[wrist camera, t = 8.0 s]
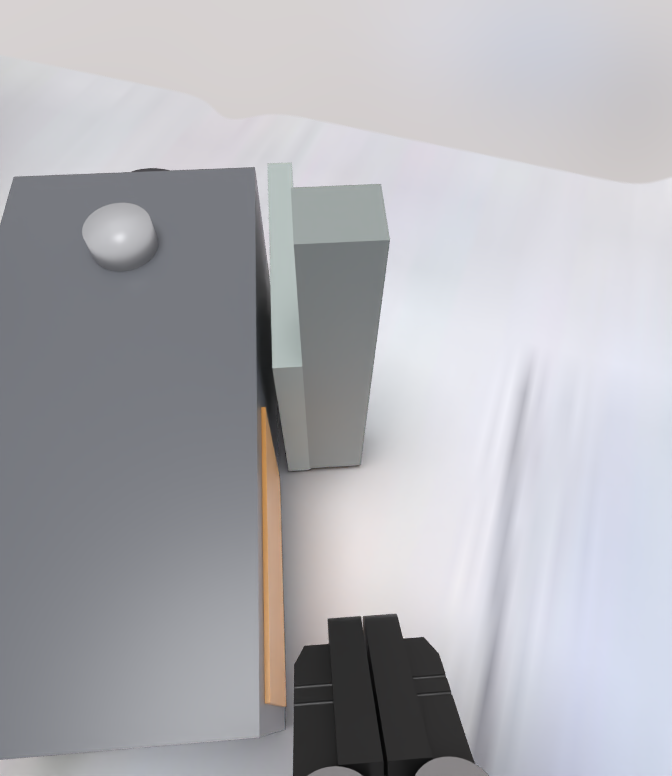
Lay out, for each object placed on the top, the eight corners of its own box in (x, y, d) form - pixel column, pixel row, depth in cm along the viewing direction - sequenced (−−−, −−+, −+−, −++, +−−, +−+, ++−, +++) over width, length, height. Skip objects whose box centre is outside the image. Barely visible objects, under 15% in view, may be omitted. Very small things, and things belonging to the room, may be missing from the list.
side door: (360, 466, 28) (389, 240, 15) (288, 471, 28) (253, 246, 14) (343, 299, 33) (354, 15, 19) (282, 302, 33) (252, 18, 19)
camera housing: (289, 728, 23) (261, 738, 13) (34, 750, 22) (-188, 776, 13) (276, 286, 34) (255, 113, 24) (103, 294, 33) (12, 122, 23)
